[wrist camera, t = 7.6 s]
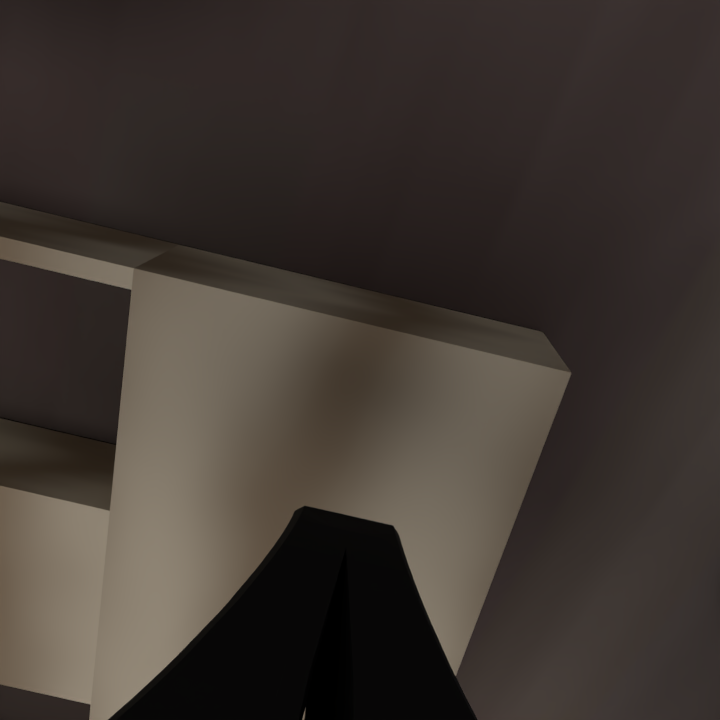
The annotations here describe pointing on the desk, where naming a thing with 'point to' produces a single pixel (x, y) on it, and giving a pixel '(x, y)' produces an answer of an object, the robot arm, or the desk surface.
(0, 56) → the desk surface
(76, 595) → the trap board
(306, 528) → the robot arm
